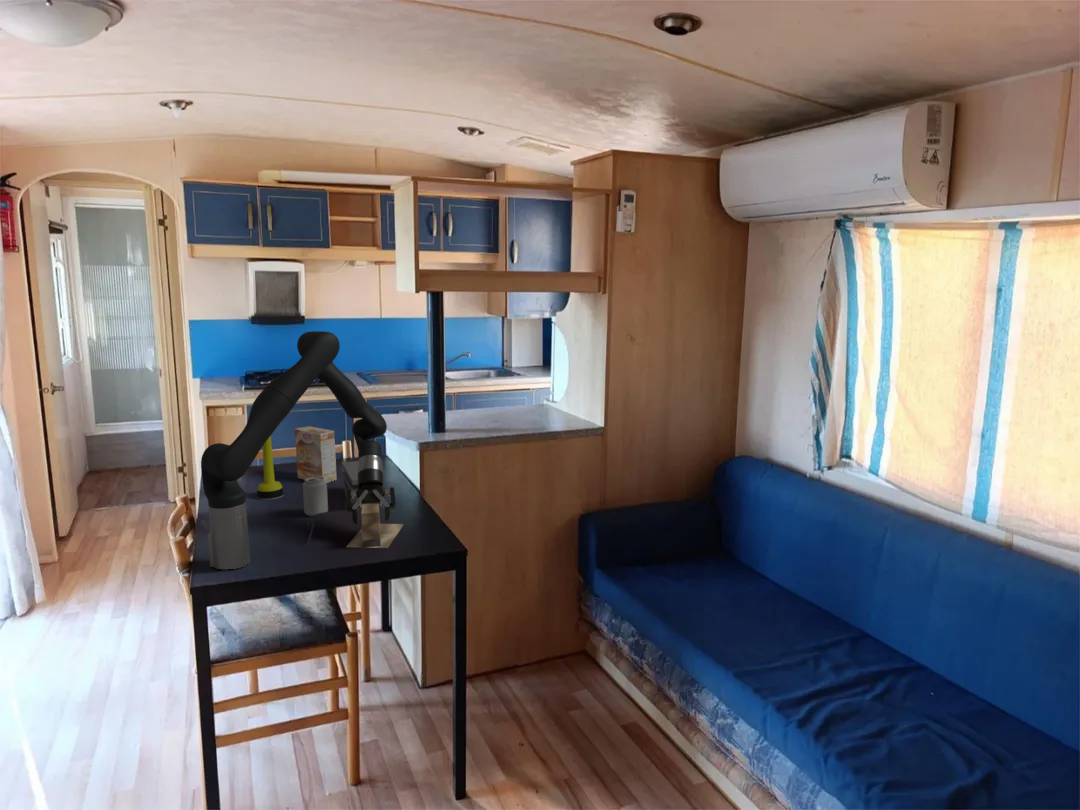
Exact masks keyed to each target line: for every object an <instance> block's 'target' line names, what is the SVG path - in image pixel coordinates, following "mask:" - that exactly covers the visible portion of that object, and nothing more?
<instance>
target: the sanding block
mask: <svg viewBox="0 0 1080 810" xmlns="http://www.w3.org/2000/svg"><path fill="white" fill-rule="evenodd" d="M360 513H361V529H362V536H363V538H362V544H363V547H374V546H381V534H380V524H381V521H380V504H379V503H370V504H362V507H361V512H360Z"/></svg>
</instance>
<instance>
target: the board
mask: <svg viewBox="0 0 1080 810" xmlns="http://www.w3.org/2000/svg"><path fill="white" fill-rule="evenodd" d="M404 525H405V524H404V523H380V534H381V546H374V547H363V544H362V538H363V536H362V528H361V529H360V530H359V531H358V532H357V533H356V535H354V537H353V538H352V539H351V541H349V543H348V544H347V545H346V546H345V547H346V548H358V549H359V548H365V549H367V548H368V549H370V548H371V549H372V548H375V549H388V548H389V547H390V546H391V544H392V542H393V541H394V540H395V538H396V537H397V535H398V534H399V532H400V531H401V529H402V528H403V526H404Z"/></svg>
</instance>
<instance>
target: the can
mask: <svg viewBox="0 0 1080 810" xmlns="http://www.w3.org/2000/svg"><path fill="white" fill-rule="evenodd" d="M302 493H303V495H302V496H303V509H304V510H303V511H304V514H305V515H307V516H309V517H318V514H322V513H328V512H329V504H328V503H329V501H328V499H329V498H328V483H327V482H326V481H325V480H324V477H319V476H315V477H309V478H306V479H305V480H304V482H303V483H302Z"/></svg>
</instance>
